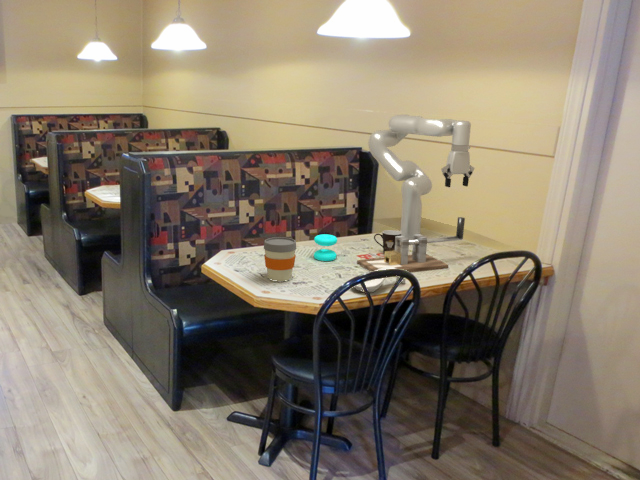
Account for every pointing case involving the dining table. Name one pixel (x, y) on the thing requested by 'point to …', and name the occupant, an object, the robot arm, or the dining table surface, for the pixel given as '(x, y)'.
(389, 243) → the coffee mug
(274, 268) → the reusable coffee cup
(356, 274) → the dining table surface
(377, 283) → the spoon rest
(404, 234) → the robot arm
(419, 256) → the wooden base with brackets
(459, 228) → the shaft
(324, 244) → the turquoise hourglass
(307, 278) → the dining table surface
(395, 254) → the block
